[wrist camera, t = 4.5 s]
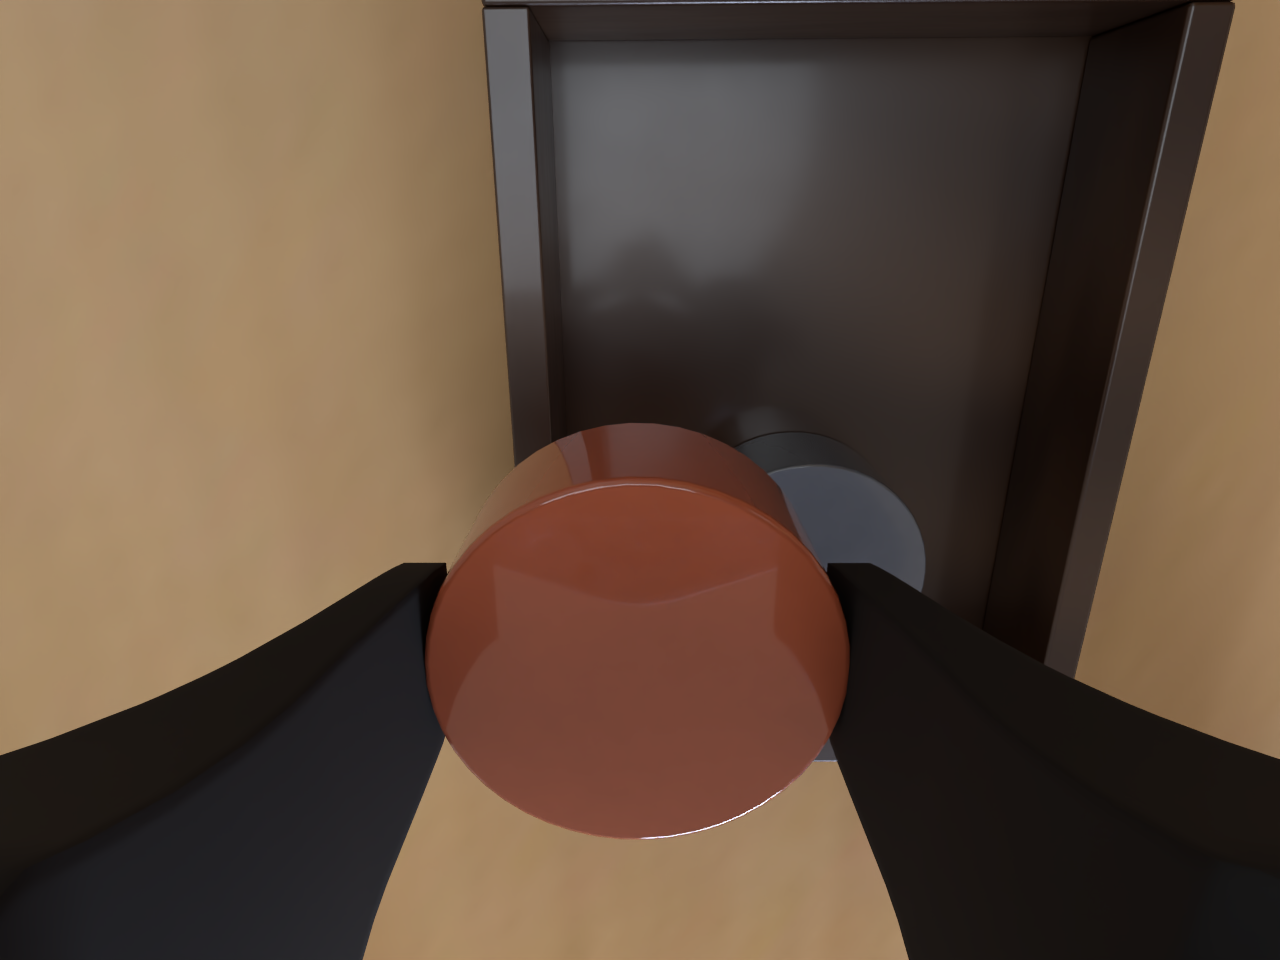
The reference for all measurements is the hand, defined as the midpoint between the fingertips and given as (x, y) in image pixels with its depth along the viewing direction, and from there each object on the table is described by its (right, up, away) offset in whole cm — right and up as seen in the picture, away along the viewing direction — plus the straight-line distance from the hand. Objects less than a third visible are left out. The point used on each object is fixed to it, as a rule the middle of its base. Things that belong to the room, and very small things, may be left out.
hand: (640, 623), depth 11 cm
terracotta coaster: (0, 0, +1) cm, 1 cm away
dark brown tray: (+4, +4, +7) cm, 9 cm away
